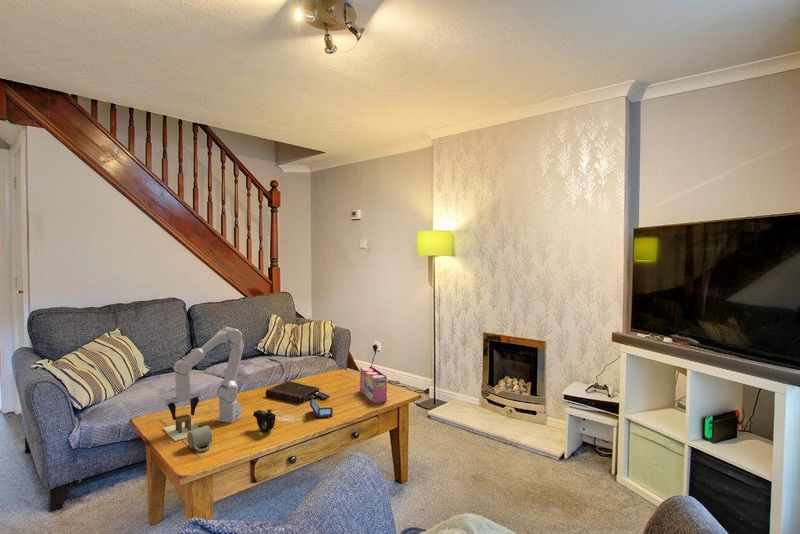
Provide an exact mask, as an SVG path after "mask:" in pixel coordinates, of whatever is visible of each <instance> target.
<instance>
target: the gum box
mask: <svg viewBox="0 0 800 534" xmlns="http://www.w3.org/2000/svg"><path fill="white" fill-rule="evenodd" d="M359 372H360V373H359V376H360V377H359V378H360V380H359V391H360V392H361V393H362V394H363V393H364V394H365V395H366V396H365V395H364V394H363V395H364V396H365V397H367V399H369V401H371V402H372V403H373V402H374V403H373V404H375V402H377V403H384V402H387V399H388V396H387V393H388V392H387V391H388V386H387V385H388V378H387V376H386V374H384V373H382V372H381V371H379V370H377V368H375V367H373V366H369V367H365V368H362V367H360V370H359ZM383 401H384V402H383Z"/></svg>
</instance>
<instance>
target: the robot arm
mask: <svg viewBox="0 0 800 534" xmlns="http://www.w3.org/2000/svg"><path fill="white" fill-rule="evenodd" d="M243 335H244V334H243V333H242V331H240V330H239V329H238V328H232V327H230V326H224V327H222V329H220V330H218V331H217V333H216V334H215V335H214V336H213V337H211V338H210V339H208V341H207V342H205V343H204V344H203V345H202V346H200V347H199V348H198V347H196V348H193V349H191V350H190V352H189V353H188V354H187V355H185V356H183V357H181V358H182V359H179V360H177V361H175V363H174V365H173V366H172V369H173V371H174V372H175V373H174V374H175V376H174V377H175V378H174V379H175V380H174V381H175V383H174V384H175V396H174V397H171V398H168V399H167V398H166V399H164V405H165V406H167V407H168V409H169V411H170V414H171V416H172V418H171V419H172V420H174V421H176V416H177V415H176V412H177V411H176V409H177V406H176V405H175V404H177V403H181V402H185V401H190V403H189V404H190V415H191V416H195V411H196V408H197V405H198V404H199V402H200V399H201V398H202V397H201V396H202V395H201V392H195V393H191V384H190V381H191V380H190V379H191V378H190V373H191V371H192V369H193V367H194V366H196V365H197V364H198V363H199V362H201V361H202V360H203V359H204V358H205V356H206V353H208V352H209V351H211V350H213V349H214V348H215V347H216V346H218V345H219V344H222V343H223V344H224V343H228V344H229V346H230V348H231V349H230V352H229V357H228V362H227V366H226V370H225V373H224V379H223V380H221V382H220V385H219V387H218V388H217V390H216V396H217V397H218V416H219V417H217V418H216V419H215V420H214V421H215V422H223V423H229V424H231V423H234V422H236V421H237V420H239V419H241V418H243V417H242V414H241V413H242V409H241V408H242V405H241V402H239V401H238V400H236V399H237V397H238V390H237V389H238V385H237V382H236V381H237V377H238V374H239V373H238V372H239V369H240V368H239V367H240V364H241V360H242V355H243V351H244V347H245V344H244V340H243Z"/></svg>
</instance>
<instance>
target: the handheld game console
mask: <svg viewBox="0 0 800 534" xmlns="http://www.w3.org/2000/svg"><path fill="white" fill-rule="evenodd" d="M309 401H310V403H309V407H310V408H311V409H312V411H313V413H314V414H315V415H316V419H317V418H321V419H329V418H328V417H332V418H333V407H320V406H319V405H318V404H317V402H316V401H315V398H314V399H313V398H312V397H311V400H309Z"/></svg>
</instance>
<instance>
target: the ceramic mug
mask: <svg viewBox="0 0 800 534" xmlns="http://www.w3.org/2000/svg"><path fill="white" fill-rule="evenodd" d="M186 440H187V444H188V447H189V448H190V449H194V450H196V451H197V452H199V453H203V452H202V451H204V452H207V451H208V450H210V447H211V444H212V442H213V433H212V429H211V428H210V426H209V425H204V426H201V427H199V428H198V429H195V430H192V431H190V432H188V434H187V439H186ZM204 446H207V447H206V448H205V447H204ZM202 447H204V448H202ZM206 450H207V451H206Z"/></svg>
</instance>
